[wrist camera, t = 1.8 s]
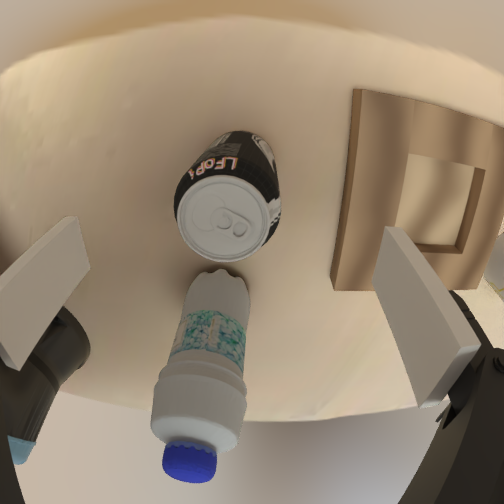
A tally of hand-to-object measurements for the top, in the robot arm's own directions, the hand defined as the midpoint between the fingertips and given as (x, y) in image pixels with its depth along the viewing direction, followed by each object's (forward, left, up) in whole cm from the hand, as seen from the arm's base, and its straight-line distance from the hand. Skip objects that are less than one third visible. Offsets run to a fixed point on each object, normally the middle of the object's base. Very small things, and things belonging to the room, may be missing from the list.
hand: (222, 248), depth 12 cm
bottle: (-2, -13, -15) cm, 20 cm away
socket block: (+18, -2, -15) cm, 23 cm away
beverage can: (0, 0, -15) cm, 15 cm away
